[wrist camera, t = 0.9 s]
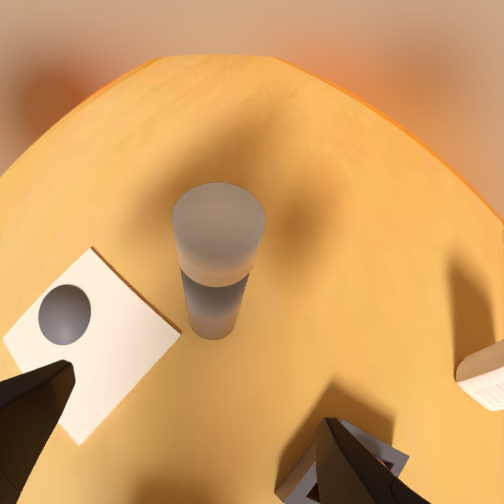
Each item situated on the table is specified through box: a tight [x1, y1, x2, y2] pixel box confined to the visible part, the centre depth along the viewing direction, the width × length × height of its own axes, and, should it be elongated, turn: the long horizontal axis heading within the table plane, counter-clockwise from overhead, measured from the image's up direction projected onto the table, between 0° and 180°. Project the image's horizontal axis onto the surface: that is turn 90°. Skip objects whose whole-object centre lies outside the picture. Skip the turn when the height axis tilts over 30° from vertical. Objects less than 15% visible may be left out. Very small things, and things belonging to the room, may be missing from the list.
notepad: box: [3, 248, 181, 446], centre depth 21 cm, size 14×13×1 cm
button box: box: [274, 419, 410, 504], centre depth 17 cm, size 8×8×3 cm
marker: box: [172, 182, 265, 340], centre depth 19 cm, size 4×4×14 cm
